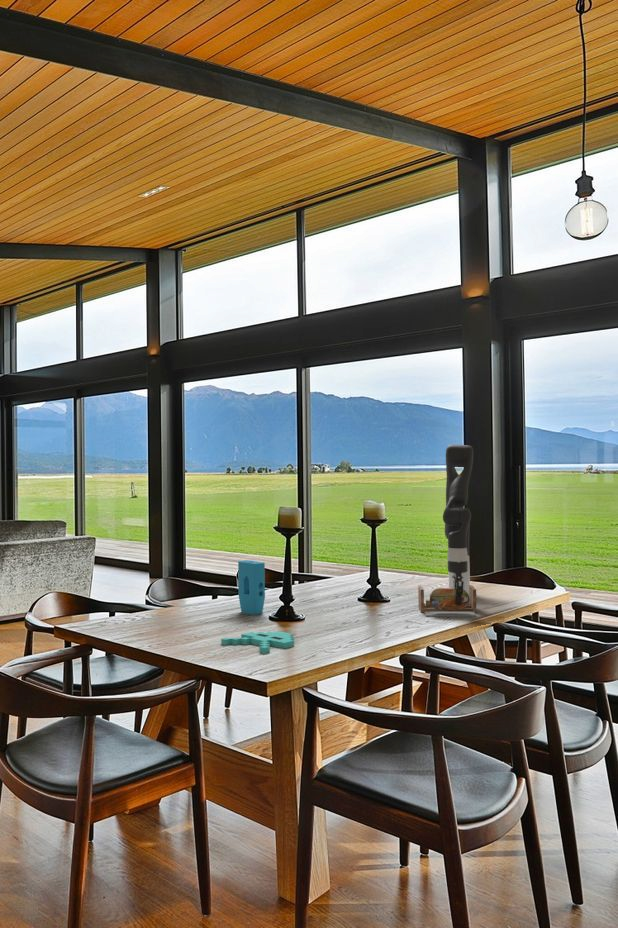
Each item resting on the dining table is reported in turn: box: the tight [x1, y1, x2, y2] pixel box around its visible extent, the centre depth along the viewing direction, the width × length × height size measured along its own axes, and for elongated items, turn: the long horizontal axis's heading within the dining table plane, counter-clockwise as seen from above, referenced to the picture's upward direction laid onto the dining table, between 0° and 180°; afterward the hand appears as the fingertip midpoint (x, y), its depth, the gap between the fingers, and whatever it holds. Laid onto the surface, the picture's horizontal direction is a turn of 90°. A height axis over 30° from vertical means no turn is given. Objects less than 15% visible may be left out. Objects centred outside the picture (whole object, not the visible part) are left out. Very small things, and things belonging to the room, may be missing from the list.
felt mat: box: [424, 612, 477, 618], centre depth 298 cm, size 7×19×1 cm, turn 87°
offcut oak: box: [425, 599, 431, 605], centre depth 311 cm, size 2×5×2 cm, turn 76°
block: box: [237, 559, 266, 616], centre depth 307 cm, size 12×5×20 cm, turn 41°
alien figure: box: [220, 631, 295, 655], centre depth 254 cm, size 20×2×20 cm
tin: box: [429, 587, 470, 610], centre depth 299 cm, size 15×3×8 cm, turn 87°
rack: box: [417, 584, 477, 614], centre depth 308 cm, size 11×21×9 cm, turn 87°
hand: (458, 604), depth 298 cm, fingers closed on tin, 2 cm apart
